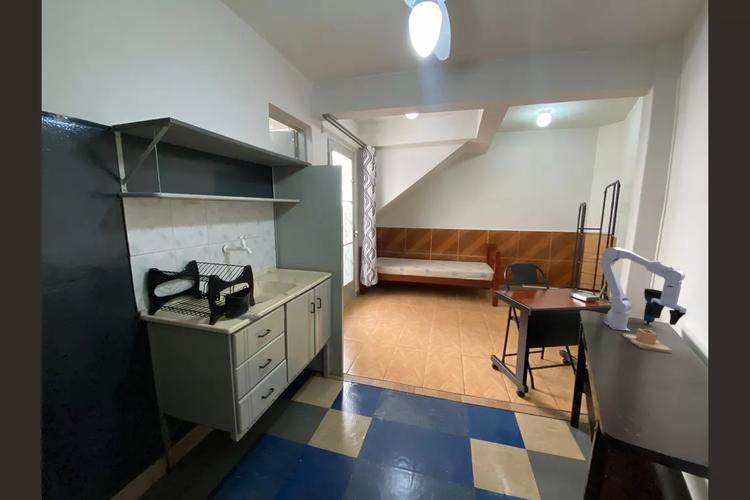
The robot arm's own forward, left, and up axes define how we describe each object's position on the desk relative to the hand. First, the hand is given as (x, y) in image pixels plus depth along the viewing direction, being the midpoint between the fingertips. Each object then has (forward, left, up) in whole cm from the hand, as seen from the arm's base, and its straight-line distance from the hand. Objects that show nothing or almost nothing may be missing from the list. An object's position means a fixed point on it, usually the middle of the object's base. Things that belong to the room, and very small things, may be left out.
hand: (664, 321), depth 135 cm
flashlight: (-24, +8, -11) cm, 27 cm away
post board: (+6, -9, -10) cm, 15 cm away
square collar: (+6, -9, -9) cm, 14 cm away
